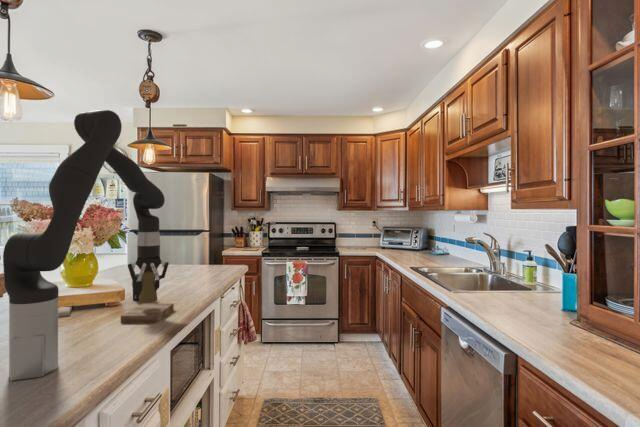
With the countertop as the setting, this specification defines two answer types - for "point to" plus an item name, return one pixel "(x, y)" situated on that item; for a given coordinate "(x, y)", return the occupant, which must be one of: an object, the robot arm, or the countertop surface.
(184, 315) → the countertop surface
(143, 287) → the cork
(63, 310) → the washcloth
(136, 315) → the walnut board
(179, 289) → the countertop surface
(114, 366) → the countertop surface
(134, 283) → the battery charger
